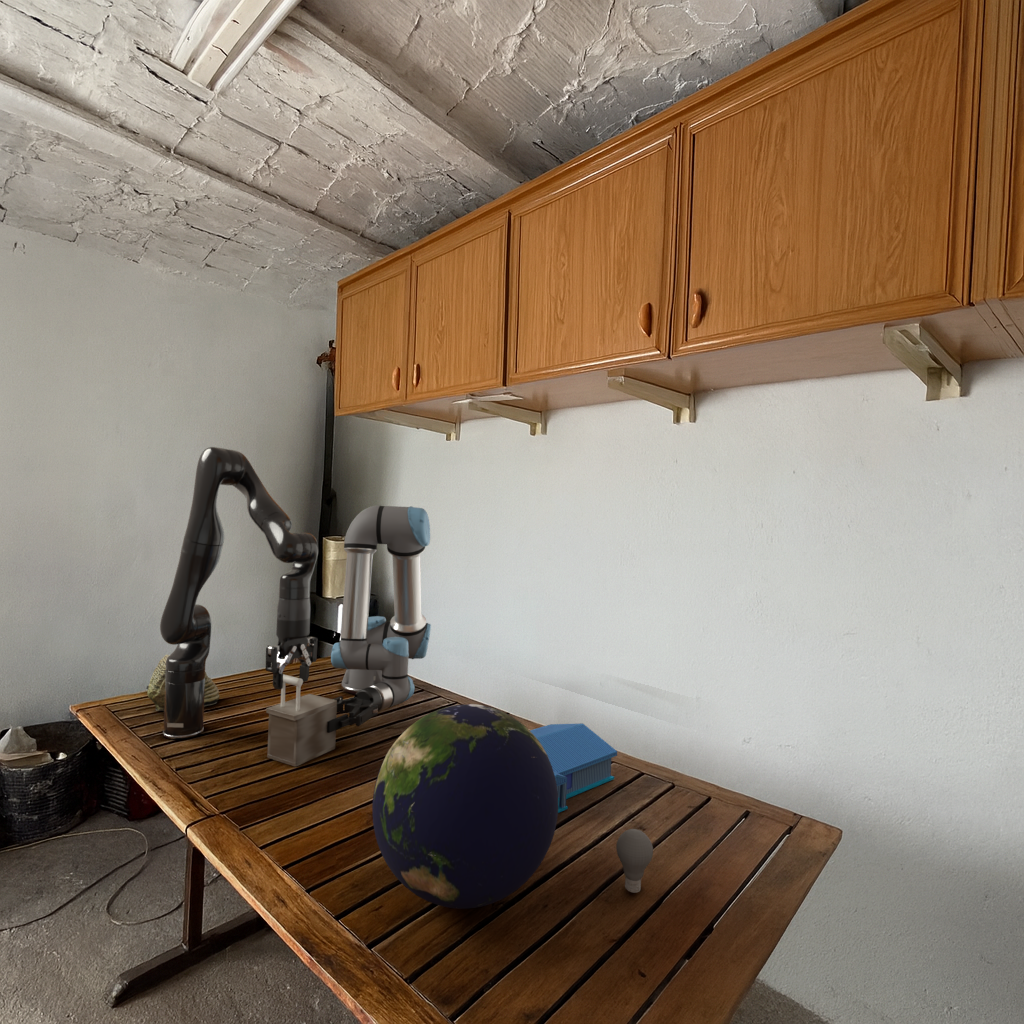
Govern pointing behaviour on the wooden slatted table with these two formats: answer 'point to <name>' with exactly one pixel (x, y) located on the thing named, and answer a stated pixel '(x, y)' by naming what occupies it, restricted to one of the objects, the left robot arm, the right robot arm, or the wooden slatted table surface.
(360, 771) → the wooden slatted table surface
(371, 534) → the right robot arm
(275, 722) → the chest
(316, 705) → the lid
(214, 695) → the fossil
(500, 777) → the globe
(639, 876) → the light bulb
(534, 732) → the model building
